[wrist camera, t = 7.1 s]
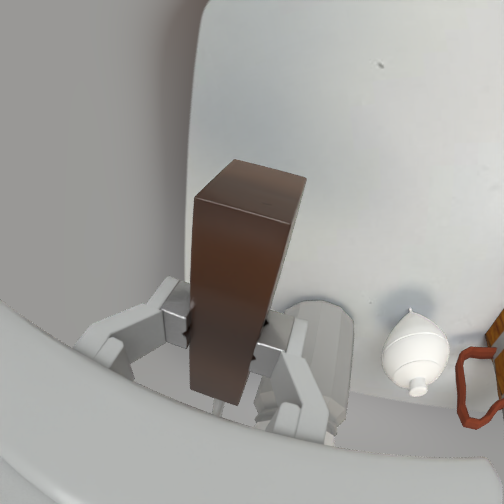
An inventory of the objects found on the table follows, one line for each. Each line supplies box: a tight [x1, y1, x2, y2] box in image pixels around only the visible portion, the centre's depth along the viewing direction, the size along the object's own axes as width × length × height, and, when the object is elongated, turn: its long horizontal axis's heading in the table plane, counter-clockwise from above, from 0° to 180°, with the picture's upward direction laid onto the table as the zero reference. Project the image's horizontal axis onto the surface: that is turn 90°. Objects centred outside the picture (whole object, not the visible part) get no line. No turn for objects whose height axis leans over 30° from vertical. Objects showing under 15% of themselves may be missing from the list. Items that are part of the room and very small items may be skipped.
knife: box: [189, 159, 307, 417], centre depth 15 cm, size 21×2×3 cm, turn 171°
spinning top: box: [381, 308, 450, 397], centre depth 28 cm, size 8×8×12 cm
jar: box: [254, 300, 354, 447], centre depth 31 cm, size 10×10×18 cm
